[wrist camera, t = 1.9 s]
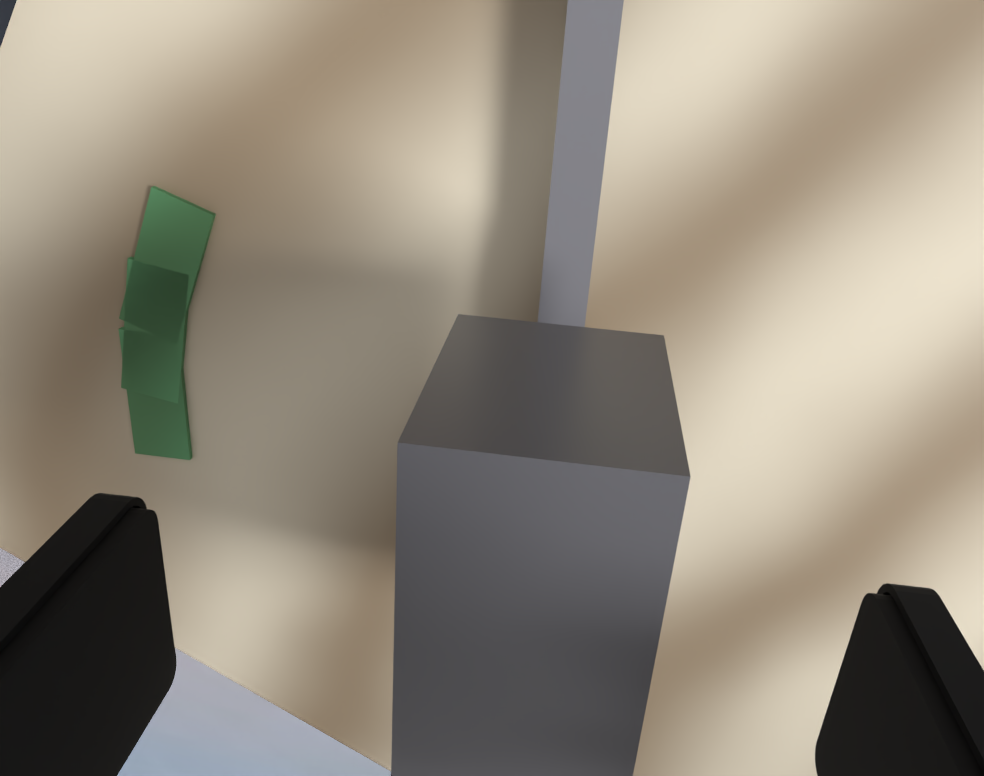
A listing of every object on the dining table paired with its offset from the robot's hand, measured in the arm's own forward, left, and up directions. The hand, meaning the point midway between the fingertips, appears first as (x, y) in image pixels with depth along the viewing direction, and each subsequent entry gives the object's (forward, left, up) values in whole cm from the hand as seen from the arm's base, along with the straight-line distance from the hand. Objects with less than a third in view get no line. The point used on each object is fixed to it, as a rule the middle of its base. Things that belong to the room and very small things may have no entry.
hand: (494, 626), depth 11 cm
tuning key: (+1, -2, -6) cm, 6 cm away
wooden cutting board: (0, 0, -8) cm, 8 cm away
